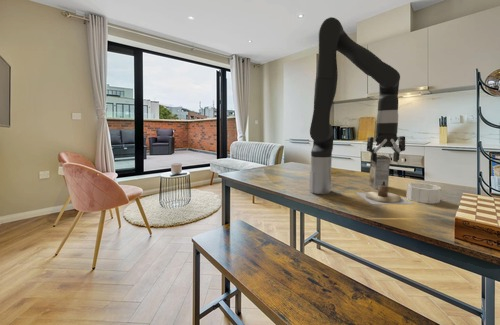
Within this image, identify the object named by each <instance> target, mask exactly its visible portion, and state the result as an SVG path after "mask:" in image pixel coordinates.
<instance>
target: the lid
mask: <svg viewBox="0 0 500 325" xmlns="http://www.w3.org/2000/svg"><path fill="white" fill-rule="evenodd" d="M365 193H366V198H368V199H370V200H373V201H377V202H384V203H396V202H400V201H401V198H402V197H401V196H400V195H398V194H395V193H394V192H389V185H388V186H383V185H380V186H378V189H377V191H367V192H365Z"/></svg>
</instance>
